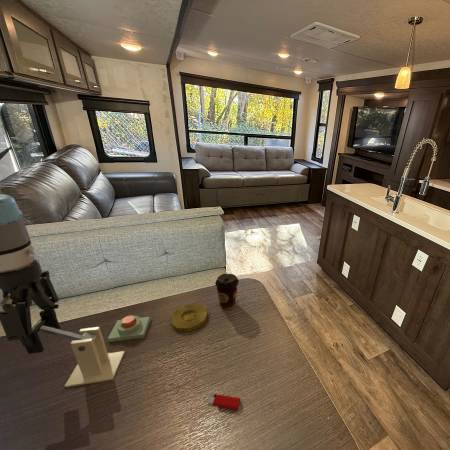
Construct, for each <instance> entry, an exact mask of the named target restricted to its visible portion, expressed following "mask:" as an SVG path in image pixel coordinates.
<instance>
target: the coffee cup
mask: <svg viewBox="0 0 450 450" xmlns="http://www.w3.org/2000/svg"><path fill="white" fill-rule="evenodd" d="M239 283H240V281H239V278H238V276H237V275H236V274H233V273H222V274H220V275H219V276H218V277H217V279H216V280H215V283H214V285H215V287H216V291H217V292H216V293H217V297H218V301H219V307H220V308H221V309H223V310H231V309H233V308H234V307H236V304H237V302H236V300H237V293H238V285H239Z"/></svg>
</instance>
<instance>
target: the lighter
mask: <svg viewBox="0 0 450 450" xmlns="http://www.w3.org/2000/svg"><path fill="white" fill-rule="evenodd" d="M240 403H241V398H240V397H235V396H230V395H223V394H217V393H214V394H213V395H212V396H209V399H208V401H207V405H208V406H213V407H217V408H221V409H228V410H234V411H238V410H239V406H240Z"/></svg>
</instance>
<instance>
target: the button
mask: <svg viewBox="0 0 450 450" xmlns="http://www.w3.org/2000/svg"><path fill="white" fill-rule="evenodd" d="M134 316H135V315H131V314H129V315H126V316H125V317H123V318H122V319H121V320H122V325H123V327H124V328H129V327H131V326H133V325H134V324H135V317H134Z"/></svg>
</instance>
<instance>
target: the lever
mask: <svg viewBox="0 0 450 450" xmlns="http://www.w3.org/2000/svg"><path fill="white" fill-rule="evenodd" d="M48 320H49V318H48V317H46V316H44V317H42V318H41V317H40V318H39V320H38V321H37V322H36V323H35V324H34V325H33V326H32V330H36V332H37V334H38V333H39V332H40V333H43V334H44V333H45V334H47V335H53V336H57V337H60V338H64V339H68V340H72V341H75V340H83V339H93V341H94V339H95V337H96V336H97V335H94V334H91V333H87V332H85V333H84V335H80V333H79V334H78V333H75V332H71V331H66V330H62V329H60V330H59V329H55V328H51V327H47V326H44V325H45V324H46V322H47V321H48Z"/></svg>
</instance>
